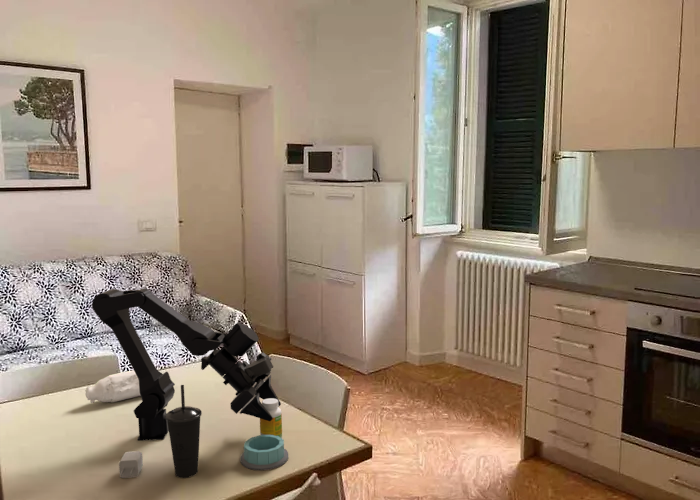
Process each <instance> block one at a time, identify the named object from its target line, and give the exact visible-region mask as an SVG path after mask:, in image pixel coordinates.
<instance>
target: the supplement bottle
mask: <svg viewBox="0 0 700 500" xmlns="http://www.w3.org/2000/svg"><path fill="white" fill-rule="evenodd" d="M261 403H262V405H263V406H264V407H265V408H266V409H267V411H268V412H269V413H270V414H271V416H272V417H273V419H272V420H271V421H267V420H264V419H261V418H259V432H260V433H259V434H260V435H274V436H279V437H280V438H282V439H283V421H282V420H283V418H282V409H281V408H280V406H279V407H278V400H277V399H274V398H268V399H264V400H263V399H262V402H261Z"/></svg>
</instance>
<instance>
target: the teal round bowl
mask: <svg viewBox="0 0 700 500" xmlns="http://www.w3.org/2000/svg"><path fill="white" fill-rule="evenodd" d="M239 458H240V459H239V461H240V465H241V466H243V467H244V468H246V469H249V470H253V471H267V470H273V469H277V468H280V467H281V466H283V465H285V464H286V463H287V462H288V461H289V451H288V450H287V449H286V448H285V440H284V439H283V437H282V438H280V437H279V436H274V435H256V436H252V437H249V438H248V439H247V440H245V441H244V444H243V452H242V453H241V455H240V457H239Z"/></svg>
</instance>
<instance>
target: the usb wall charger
mask: <svg viewBox="0 0 700 500" xmlns="http://www.w3.org/2000/svg"><path fill="white" fill-rule="evenodd" d="M143 466H144V463H143V453H142V451H140V450H134V451H126V452H124V453H123V455H122V457H121V458H120V459H119V463H118V468H119V469H118V470H119V478H121V479H125V478H126V479H128V478H137V477H138V476H139V475H140V473H141V470H142V468H143Z"/></svg>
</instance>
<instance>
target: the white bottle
mask: <svg viewBox="0 0 700 500" xmlns="http://www.w3.org/2000/svg"><path fill="white" fill-rule="evenodd" d="M84 391H85V397H86V399H87V401H90V403H91V404H92V403H94V402H95V401H99V402H100V403H116V402H117V403H118V402H120V401H124V400H125V401H126V400H129V399H132V398H136V397H141V395H140V391H139V379H138V377H137V375H136V373H135V371H134V369H133V370H129V371H123V372H118V373H114V374H112V373H111V374H110V375H107V376H105V377H103V378H100V379H99V380H97V382H96V383H95V384H94V385H92V386H87V387H86V389H85V390H84Z"/></svg>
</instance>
